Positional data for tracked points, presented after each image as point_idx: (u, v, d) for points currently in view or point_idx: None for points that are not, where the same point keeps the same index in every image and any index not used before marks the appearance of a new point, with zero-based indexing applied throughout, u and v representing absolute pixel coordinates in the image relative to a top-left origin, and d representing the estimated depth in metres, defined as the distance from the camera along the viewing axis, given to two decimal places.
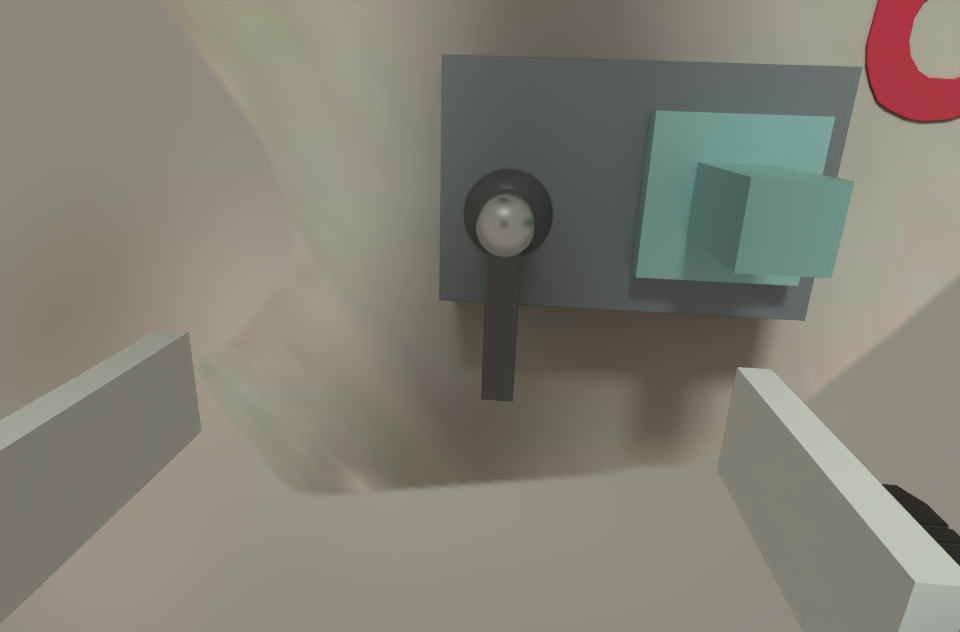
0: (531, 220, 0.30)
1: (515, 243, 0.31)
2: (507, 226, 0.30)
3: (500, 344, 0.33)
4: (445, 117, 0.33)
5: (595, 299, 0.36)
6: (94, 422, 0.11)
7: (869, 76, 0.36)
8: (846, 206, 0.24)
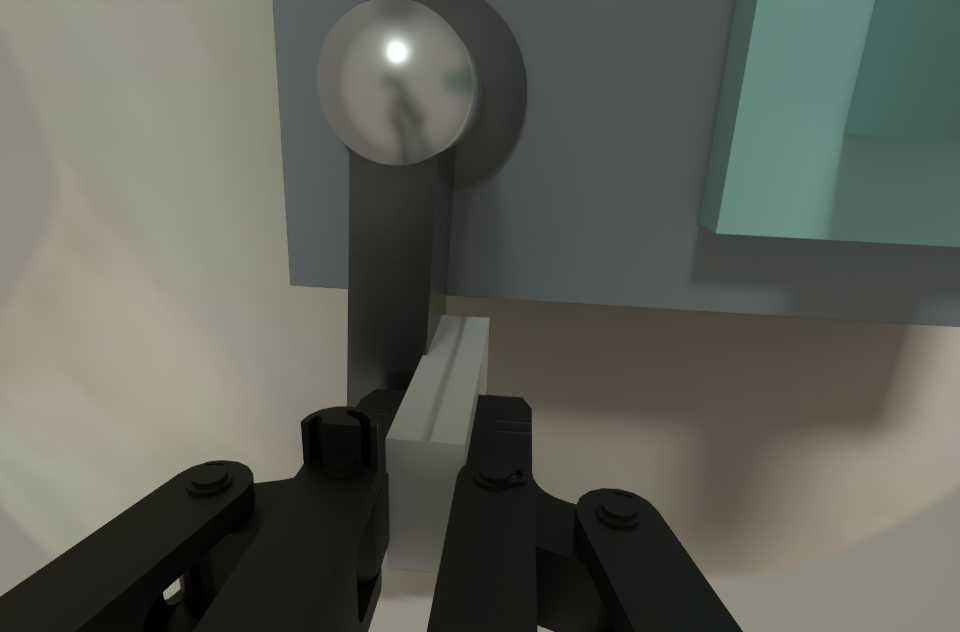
0: (464, 64, 0.11)
1: (421, 129, 0.12)
2: (399, 81, 0.11)
3: (387, 388, 0.14)
4: None
5: (618, 285, 0.17)
6: None
7: None
8: None
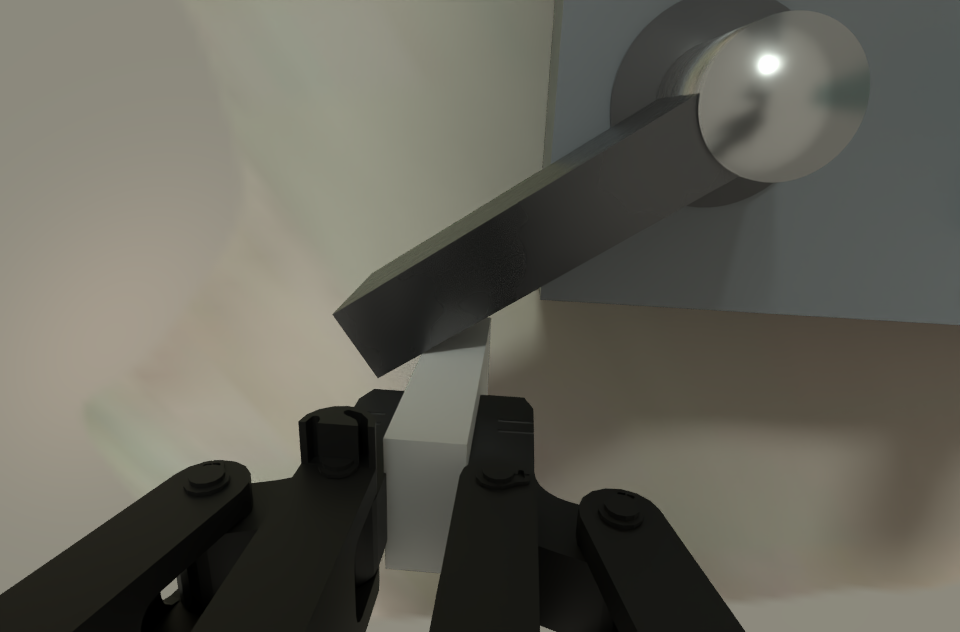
0: (836, 150, 0.11)
1: (757, 150, 0.11)
2: (791, 103, 0.11)
3: (485, 273, 0.13)
4: None
5: (885, 300, 0.16)
6: None
7: None
8: None
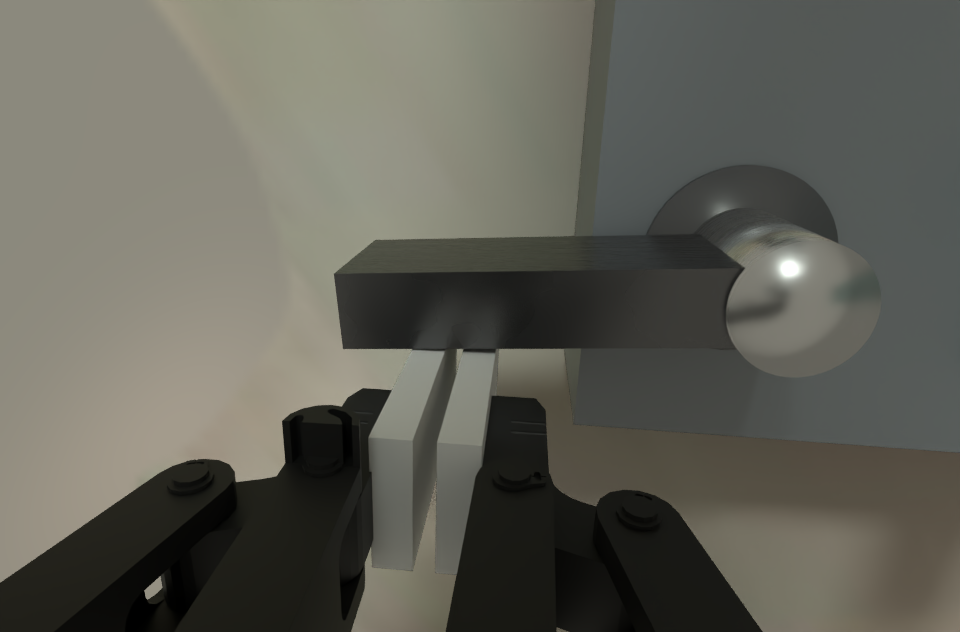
0: (817, 370, 0.13)
1: (761, 337, 0.12)
2: (807, 316, 0.12)
3: (490, 312, 0.13)
4: (619, 50, 0.15)
5: (896, 430, 0.18)
6: (439, 390, 0.13)
7: None
8: None
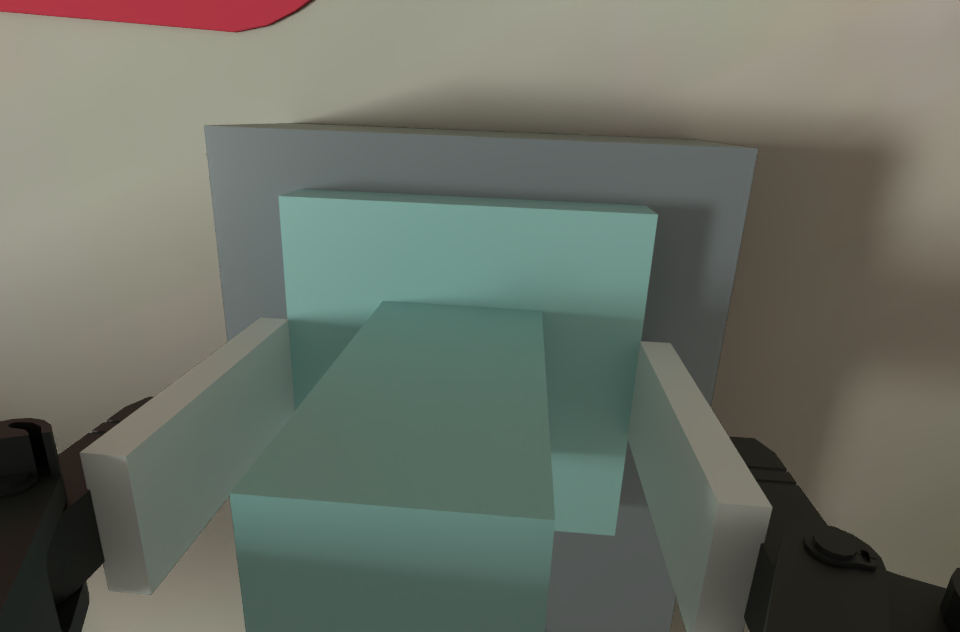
0: None
1: None
2: None
3: None
4: None
5: (663, 559, 0.18)
6: (228, 398, 0.12)
7: (284, 15, 0.20)
8: (307, 507, 0.07)
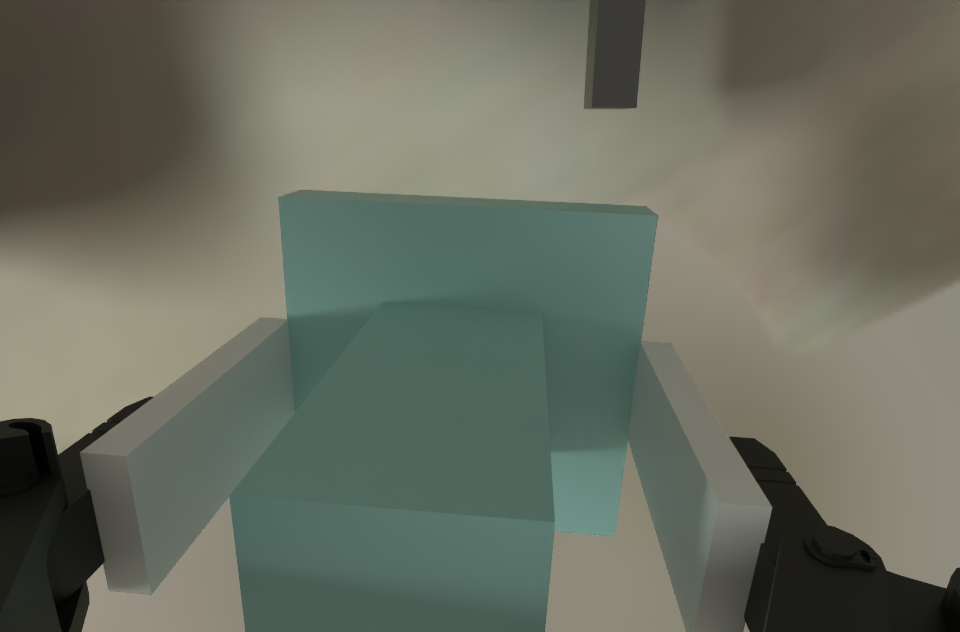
0: None
1: None
2: None
3: (621, 13, 0.23)
4: None
5: None
6: (228, 398, 0.12)
7: None
8: (307, 509, 0.07)
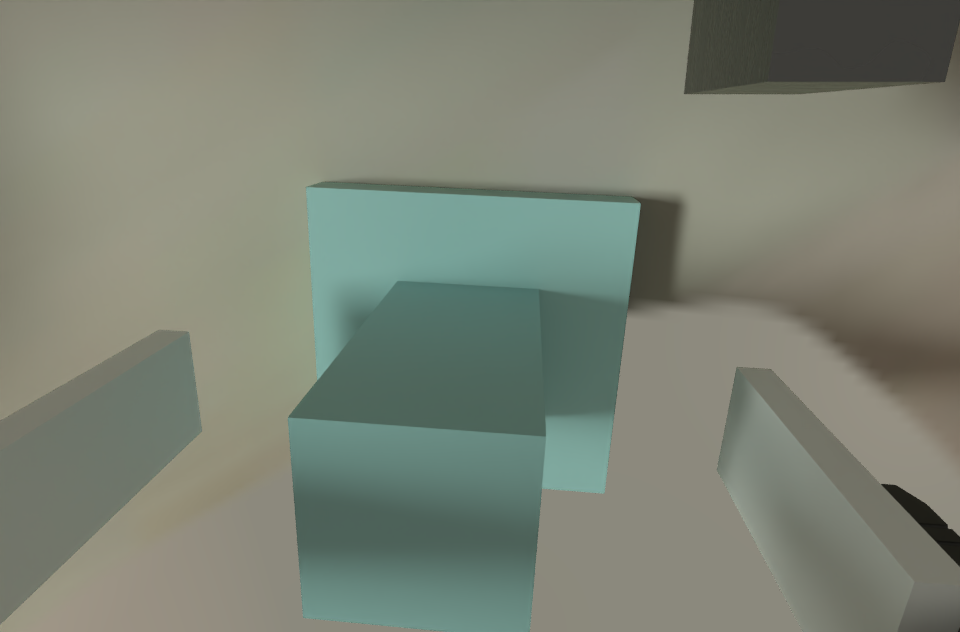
0: None
1: None
2: None
3: None
4: None
5: None
6: (95, 422, 0.11)
7: None
8: (350, 427, 0.09)
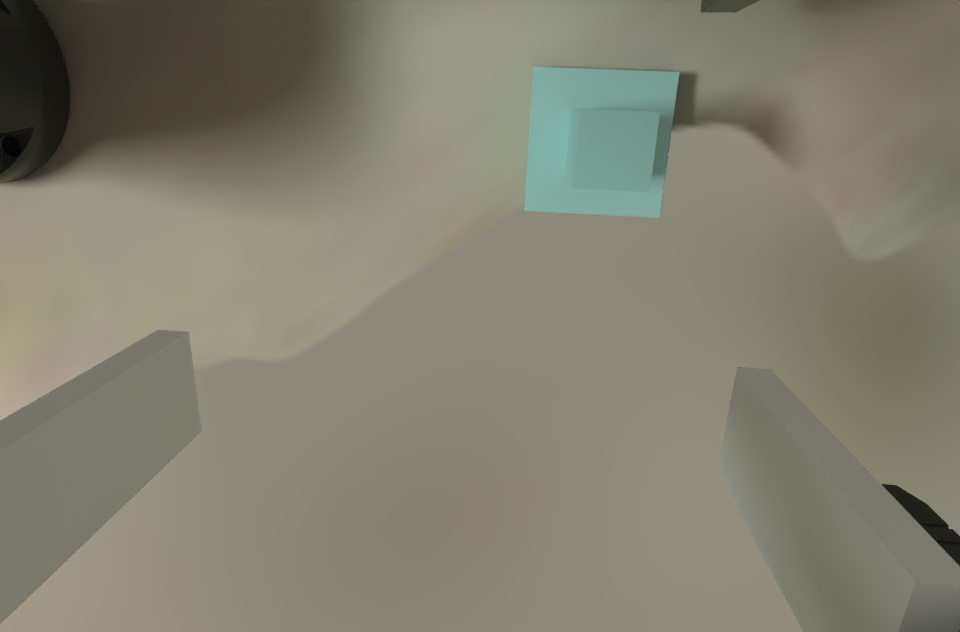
0: None
1: None
2: None
3: None
4: None
5: None
6: (94, 422, 0.11)
7: None
8: (599, 111, 0.30)
